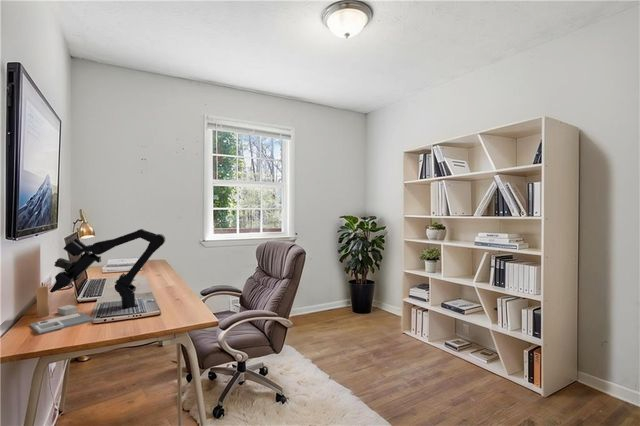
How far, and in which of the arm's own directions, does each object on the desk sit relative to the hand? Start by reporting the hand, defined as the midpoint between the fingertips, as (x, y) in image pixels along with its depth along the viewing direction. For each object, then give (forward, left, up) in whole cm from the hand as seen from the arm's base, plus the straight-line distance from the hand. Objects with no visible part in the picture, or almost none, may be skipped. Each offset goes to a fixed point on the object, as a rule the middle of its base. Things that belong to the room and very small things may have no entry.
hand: (54, 289), depth 152 cm
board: (-17, +2, -11) cm, 20 cm away
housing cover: (-2, -4, -11) cm, 12 cm away
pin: (+2, +4, -11) cm, 12 cm away
